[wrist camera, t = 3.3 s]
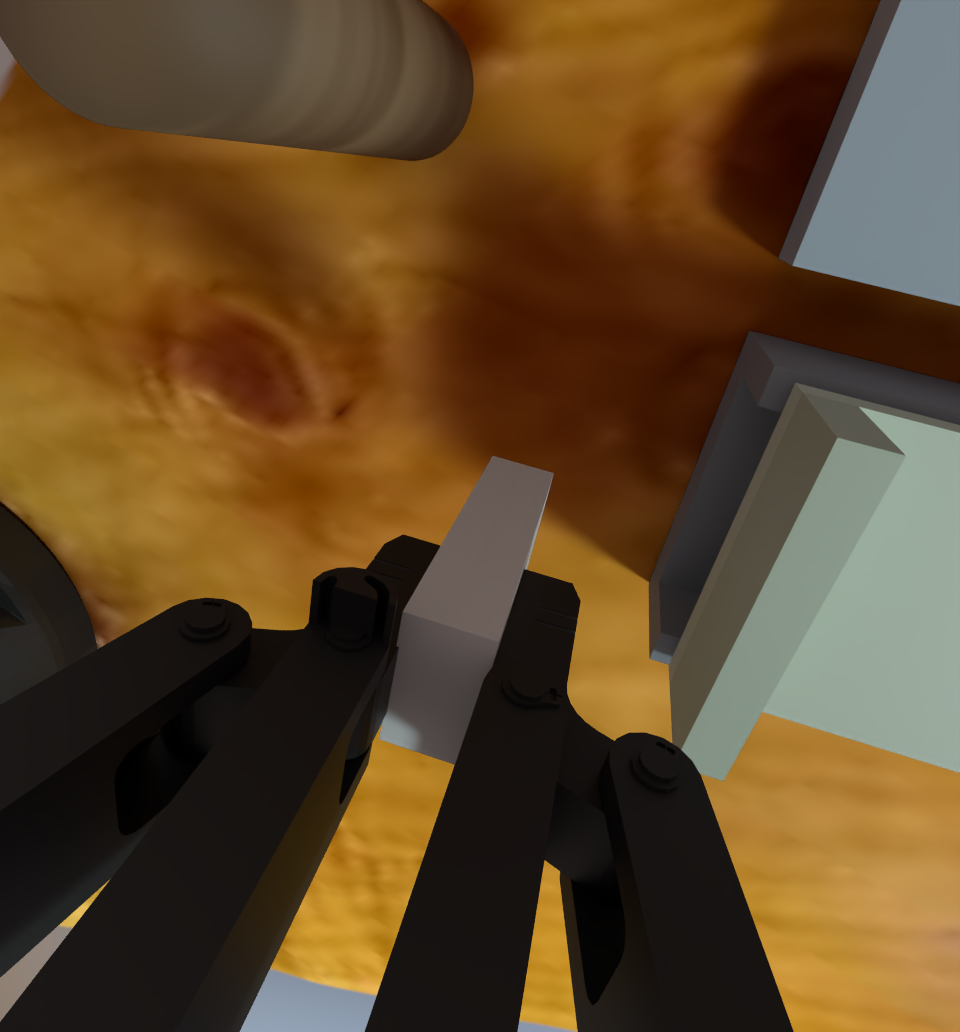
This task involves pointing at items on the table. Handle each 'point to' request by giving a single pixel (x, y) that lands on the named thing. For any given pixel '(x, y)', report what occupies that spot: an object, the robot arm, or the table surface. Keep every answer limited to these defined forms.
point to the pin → (253, 69)
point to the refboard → (740, 447)
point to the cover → (833, 590)
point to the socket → (891, 161)
